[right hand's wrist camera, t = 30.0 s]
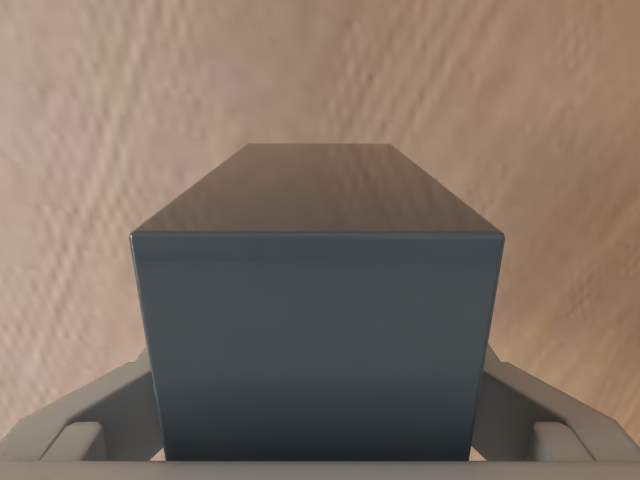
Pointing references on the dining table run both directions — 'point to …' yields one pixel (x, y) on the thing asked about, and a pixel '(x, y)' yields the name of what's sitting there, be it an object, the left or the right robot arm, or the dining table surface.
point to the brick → (317, 309)
